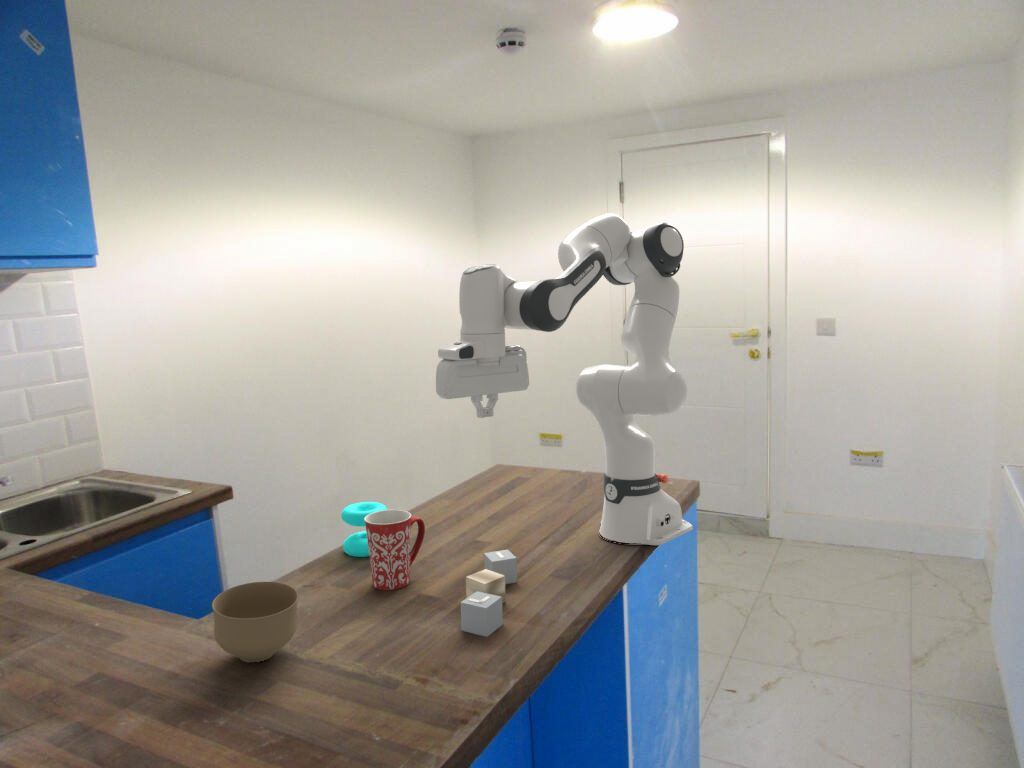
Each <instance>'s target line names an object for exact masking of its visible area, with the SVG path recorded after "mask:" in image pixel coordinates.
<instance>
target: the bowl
mask: <svg viewBox="0 0 1024 768" xmlns="http://www.w3.org/2000/svg"><path fill="white" fill-rule="evenodd" d="M299 598H300V597H299V593H298V591H297V590H296V588H294V587H293V586H291V585H288V584H286V583H282V582H276V581H254V582H247V583H243V584H239V585H235V586H232V587H230V588H228V589H226V590H223V591H222V592H221V593H219V594H217V596H215V597H214V599H213V601H212V602H211V603H212V604H211V609H212V611H213V619H214V621H213V622H214V625H213V627H214V628H213V633H214V638H215V642H216V643H217V645H218V646H219V647H220V648H222V650H223V651H225V653H228V654H229V655H231V656H233V657H236V658H238V659H240V660H241V661H242V662H245V663H249V662H257V663H261V662H260V661H262V662H264V660H265V661H267V660H269V659H270V658H272V657H273V656H274V655H275V654H276V653H277V652H278V651H280V650H281V649H282V648H283V647H285V646H286V645H288V643H289V642H290V640H291V639H292V638H293V636H294V635H295V633H296V631H297V627H298V611H297V610H298V602H299V601H298V600H299ZM266 659H267V660H266Z"/></svg>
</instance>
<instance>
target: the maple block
mask: <svg viewBox="0 0 1024 768" xmlns="http://www.w3.org/2000/svg"><path fill="white" fill-rule="evenodd" d="M465 588H466V589H465V590H466V591H465V592H466V595H465V596H466V598H468V597H469V596H471V595H472V594H474V593H475V592H477V591H478V592H483V593H487V594H492V595H496V596H501V597H502V604H504V603H506V584H505V576H504V575H501V574H499V573H496V572H493V571H490V570H488V569H482V570H480V571H477V572H475V573H472V574H469V575H467V576H465ZM466 598H465V599H466Z"/></svg>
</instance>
